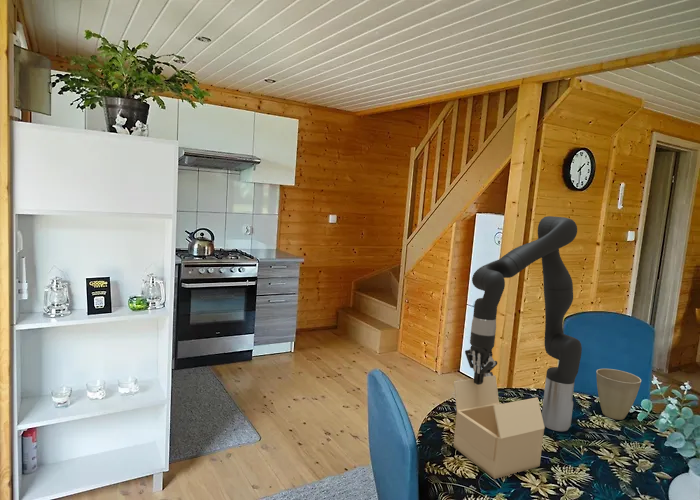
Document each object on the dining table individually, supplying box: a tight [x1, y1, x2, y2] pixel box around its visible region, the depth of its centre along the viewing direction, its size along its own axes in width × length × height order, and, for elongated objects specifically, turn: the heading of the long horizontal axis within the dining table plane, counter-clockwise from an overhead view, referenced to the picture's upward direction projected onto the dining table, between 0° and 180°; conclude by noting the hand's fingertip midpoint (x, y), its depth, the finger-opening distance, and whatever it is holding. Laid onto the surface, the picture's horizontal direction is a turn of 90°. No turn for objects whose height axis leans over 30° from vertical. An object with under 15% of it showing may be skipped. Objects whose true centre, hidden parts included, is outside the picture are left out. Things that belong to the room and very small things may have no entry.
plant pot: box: [595, 368, 642, 421], centre depth 177 cm, size 15×15×16 cm
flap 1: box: [453, 374, 500, 412], centre depth 151 cm, size 17×9×1 cm
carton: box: [453, 402, 545, 480], centre depth 142 cm, size 19×18×12 cm
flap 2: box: [493, 396, 546, 439], centre depth 135 cm, size 17×9×1 cm
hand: (478, 383), depth 150 cm, fingers closed
